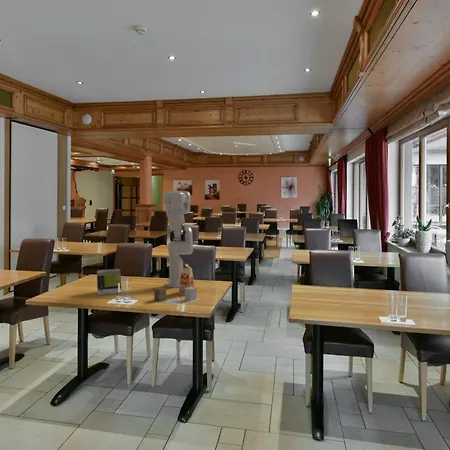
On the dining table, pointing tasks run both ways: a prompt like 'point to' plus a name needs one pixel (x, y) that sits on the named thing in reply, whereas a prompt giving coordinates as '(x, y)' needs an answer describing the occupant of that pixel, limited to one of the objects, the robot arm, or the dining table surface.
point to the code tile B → (190, 301)
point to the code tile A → (174, 301)
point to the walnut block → (160, 294)
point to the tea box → (108, 281)
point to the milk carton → (186, 279)
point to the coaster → (159, 301)
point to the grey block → (190, 293)
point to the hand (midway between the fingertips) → (177, 240)
